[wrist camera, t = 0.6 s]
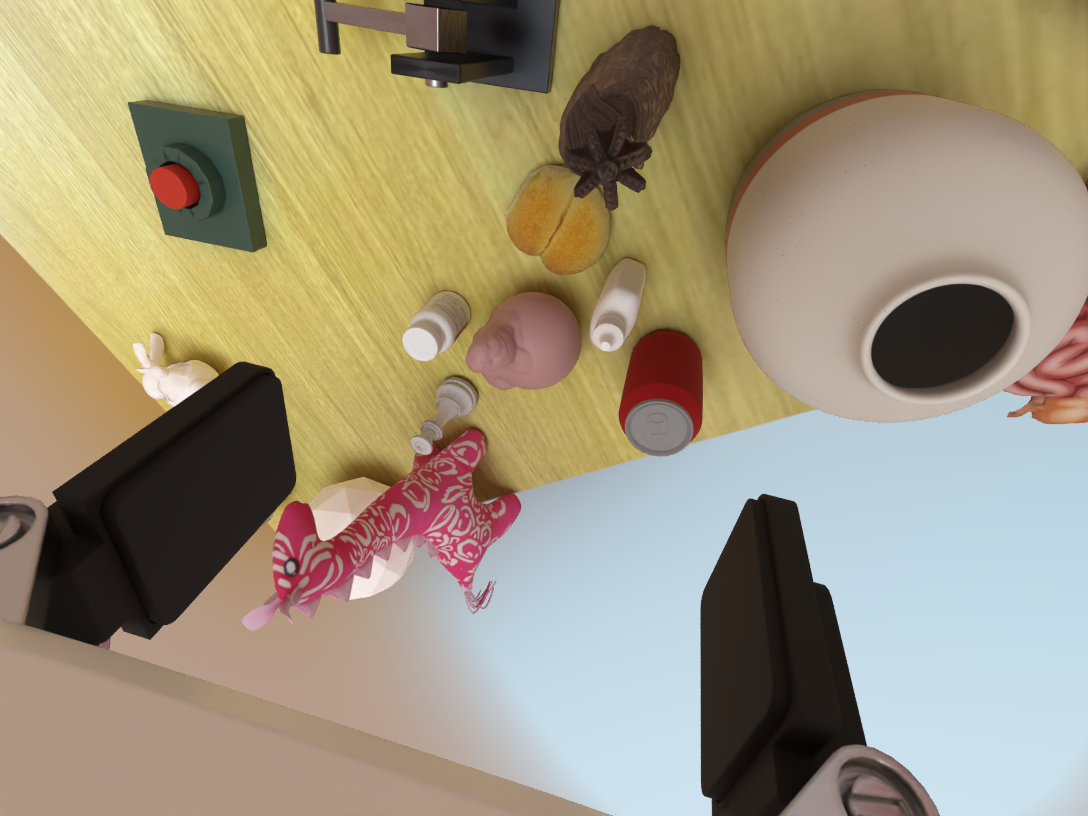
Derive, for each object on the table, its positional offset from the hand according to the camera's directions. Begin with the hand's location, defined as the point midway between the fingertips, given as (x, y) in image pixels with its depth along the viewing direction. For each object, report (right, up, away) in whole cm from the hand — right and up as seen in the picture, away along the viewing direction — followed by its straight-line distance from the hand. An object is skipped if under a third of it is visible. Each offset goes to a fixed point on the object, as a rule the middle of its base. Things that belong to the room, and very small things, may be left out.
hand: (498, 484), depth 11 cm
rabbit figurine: (-39, +3, +58) cm, 70 cm away
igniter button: (-33, +22, +41) cm, 57 cm away
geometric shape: (-15, -11, +57) cm, 60 cm away
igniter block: (-32, +24, +44) cm, 59 cm away
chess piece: (-8, +3, +51) cm, 52 cm away
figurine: (0, +10, +45) cm, 46 cm away
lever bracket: (-3, +30, +31) cm, 44 cm away
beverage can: (+13, +6, +43) cm, 45 cm away
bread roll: (+2, +18, +38) cm, 42 cm away
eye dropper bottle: (+8, +13, +40) cm, 43 cm away
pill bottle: (-8, +11, +46) cm, 48 cm away
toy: (-8, -5, +57) cm, 57 cm away
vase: (+24, +17, +33) cm, 44 cm away
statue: (+7, +25, +32) cm, 41 cm away
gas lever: (-9, +27, +26) cm, 38 cm away
